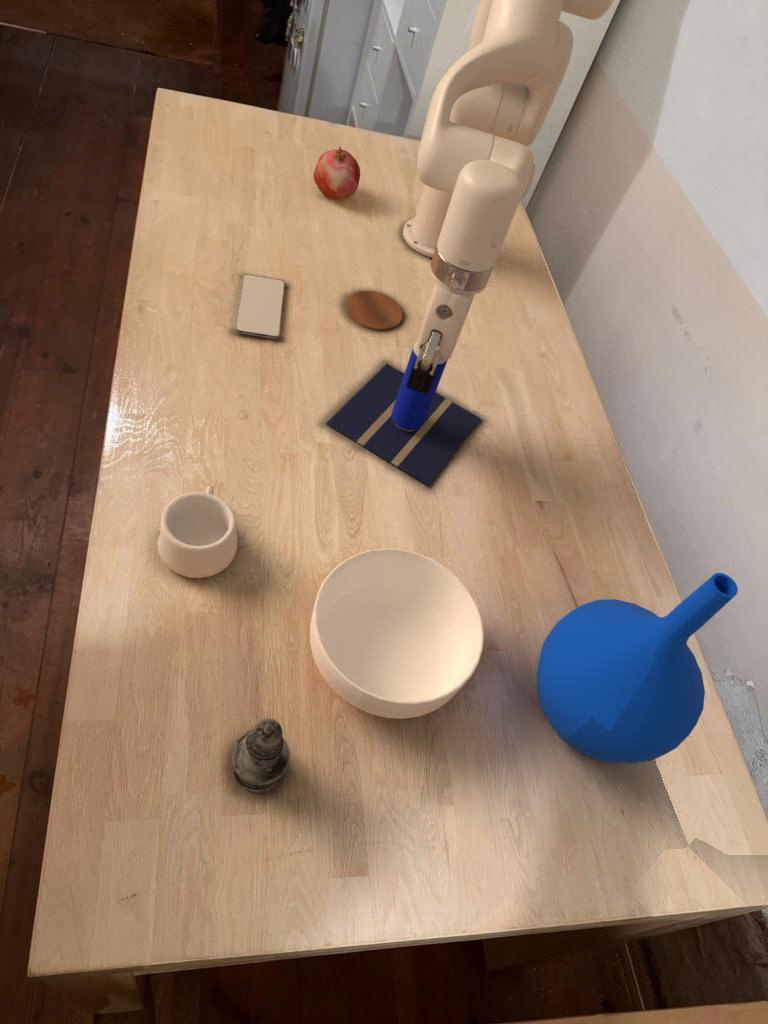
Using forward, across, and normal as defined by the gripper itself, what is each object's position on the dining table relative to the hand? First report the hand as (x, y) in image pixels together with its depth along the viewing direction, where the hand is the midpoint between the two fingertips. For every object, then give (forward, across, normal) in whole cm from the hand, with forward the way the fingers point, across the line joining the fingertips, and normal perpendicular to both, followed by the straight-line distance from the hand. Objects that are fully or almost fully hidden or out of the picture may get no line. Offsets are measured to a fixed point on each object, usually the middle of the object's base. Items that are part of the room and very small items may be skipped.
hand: (425, 368), depth 106 cm
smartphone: (+11, +14, +29) cm, 34 cm away
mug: (+12, -33, +19) cm, 40 cm away
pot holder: (+11, 0, 0) cm, 11 cm away
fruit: (+11, +54, +30) cm, 63 cm away
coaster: (+11, +23, +12) cm, 29 cm away
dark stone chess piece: (+12, -57, +2) cm, 58 cm away
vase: (+12, -36, -33) cm, 51 cm away
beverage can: (+11, 0, 0) cm, 11 cm away
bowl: (+12, -39, -8) cm, 41 cm away
